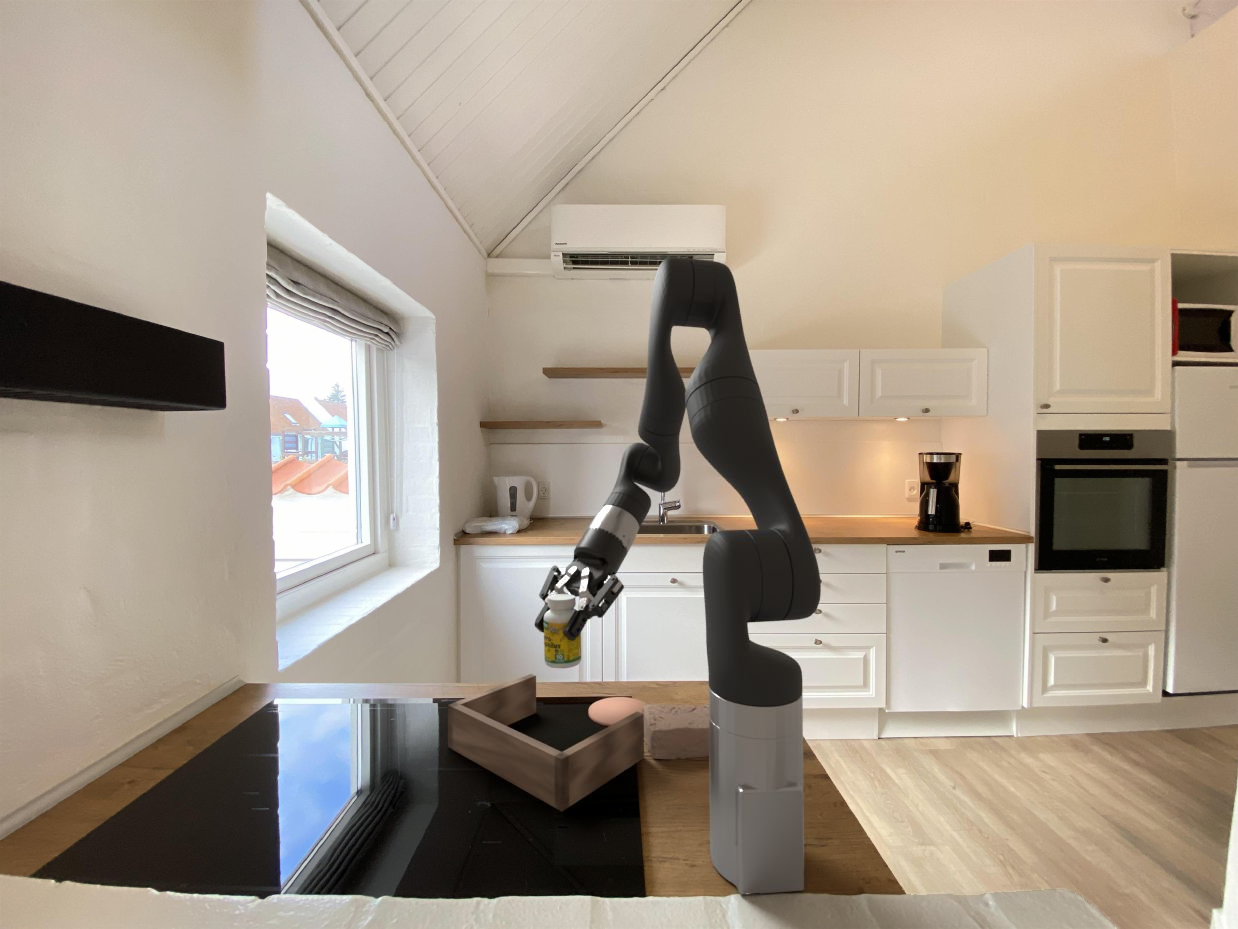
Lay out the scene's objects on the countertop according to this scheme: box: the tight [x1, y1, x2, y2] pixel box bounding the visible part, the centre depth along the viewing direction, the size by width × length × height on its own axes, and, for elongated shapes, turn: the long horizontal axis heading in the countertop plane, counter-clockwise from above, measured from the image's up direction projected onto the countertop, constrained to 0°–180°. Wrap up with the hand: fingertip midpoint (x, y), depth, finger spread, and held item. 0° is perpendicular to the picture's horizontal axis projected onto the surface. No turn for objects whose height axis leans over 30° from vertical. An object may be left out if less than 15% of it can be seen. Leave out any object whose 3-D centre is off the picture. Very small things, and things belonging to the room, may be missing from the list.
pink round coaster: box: [588, 696, 648, 727], centre depth 90 cm, size 10×10×1 cm
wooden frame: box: [447, 673, 645, 812], centre depth 77 cm, size 16×23×6 cm, turn 50°
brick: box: [642, 703, 709, 760], centre depth 80 cm, size 17×8×5 cm, turn 99°
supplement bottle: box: [543, 594, 582, 669], centre depth 80 cm, size 5×5×10 cm
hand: (553, 633), depth 79 cm, fingers closed on supplement bottle, 5 cm apart
